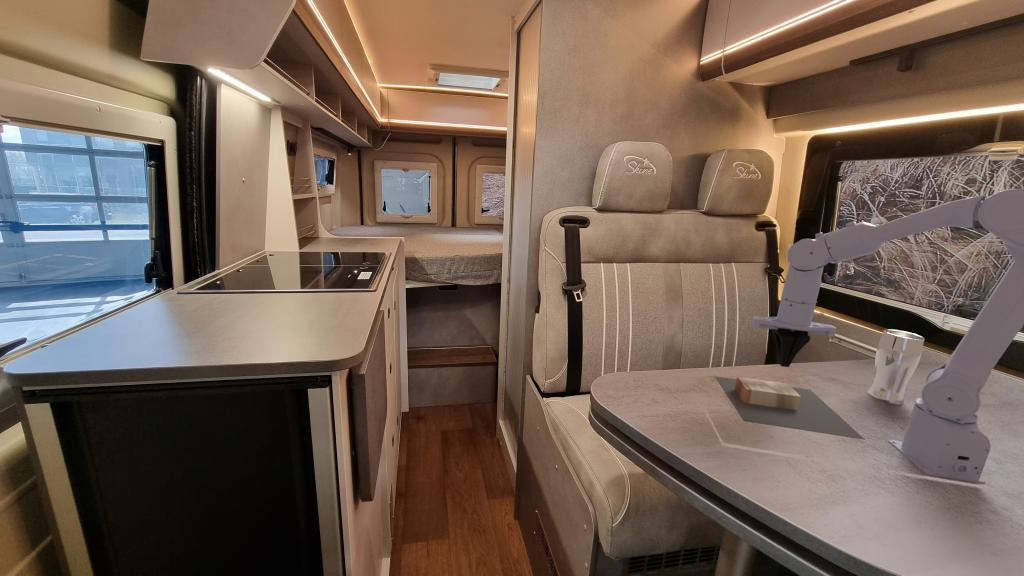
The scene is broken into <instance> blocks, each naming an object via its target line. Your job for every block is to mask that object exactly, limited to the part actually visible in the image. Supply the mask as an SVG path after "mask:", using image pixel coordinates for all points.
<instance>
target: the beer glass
mask: <svg viewBox="0 0 1024 576" xmlns="http://www.w3.org/2000/svg"><path fill="white" fill-rule="evenodd" d="M924 342H925V337H923V336H921V335H918V334H916V333H912V332H909V331H904V330H898V329H890V328H889V329H888V328H887V329H883V332H882V334H881V337H880V339H879V341H878V344H877V345H878V346H877V347H876V352H875V359H874V361H875V363H874V377H873V380H872V382H871V383H872V384H871V385H870V387H869V388H868V390H867V393H868V394H869V395H870V396H871V397H873V398H875V399H878V400H880V401H882V402H884V403H885V404H890V405H894V406H895V405H897V406H900V405H903V404H904V402H905V399H904V398H905V389H906V387H907V385H908V383H909V381H910V379H911V378H912V376H913V374H914V373H915V370H916V369H917V367H918V365H919V362H920V360H921V357H922V354H923V353H922V352H923V350H924V349H923V348H924Z"/></svg>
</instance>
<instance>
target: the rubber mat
mask: <svg viewBox="0 0 1024 576" xmlns="http://www.w3.org/2000/svg"><path fill="white" fill-rule="evenodd" d="M715 379H716V381H717V382H718V384H719V385H720V386H721V388H722V390H723V391H724V393H725V394H726V396H727V397H728V399H729V400H730V402H731V404H732V405H733V406H734V408H735V410H736V411H737V412H738V415H740V417H741V418H742V420H743V421H744V422H748V423H755V424H760V425H761V424H762V425H767V426H768V425H769V426H774V427H780V428H788V429H794V430H801V431H805V432H806V431H807V432H808V431H809V432H813V433H821V434H827V435H833V436H840V437H847V438H853V439H860V440H865V438H864V437H863V435H861V434H860V433H859V432H858V431H857V430H855V429H854V428H853V427H852V426H851V425H850V424H849V423H847V421H845V420H844V419H843V418H842V417H841V416H840V415H839V414H838V413H837V412H835V410H834V409H832V408H831V407H830V405H828V404H827V403H826V402H824V400H822V399H821V398H820V397H819V396H818V395H817V394H816V393H815V392H814V391H812V389H811V388H810V389H808V388H801V387H795V386H791V387H792V388H793V389H794V390H795V391H796V392H797V393H798V394H799V395H800V396H801V398H800V402H799V406H798V410H792V409H785V408H778V407H771V406H764V405H757V404H751V403H744V402H743V401H742V400H741V398H740V397H739V395H738V394H737V392H736V391H735V390H734V389H735V384H736V379H737V378H728V377H721V376H715Z"/></svg>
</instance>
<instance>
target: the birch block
mask: <svg viewBox="0 0 1024 576" xmlns="http://www.w3.org/2000/svg"><path fill="white" fill-rule="evenodd" d="M735 379H736V384H735V389H734V390H735V391H736V392H737V394H738V395H739V397H740V398H741V400H742V401H743V402H744V403H751V404H757V405H764V406H771V407H778V408H785V409H792V410H798V406H799V402H800V398H801V396H800V395H799V394H798V393H797V392H796V391H795V390H794V389H793V388H792V387H793V386H791V385H789V383H786V382H785V383H784V382H778V381H772V380H771V381H770V380H764V379H756V378H750V377H741V376H737V377H736V378H735Z"/></svg>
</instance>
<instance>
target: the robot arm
mask: <svg viewBox="0 0 1024 576" xmlns="http://www.w3.org/2000/svg"><path fill="white" fill-rule="evenodd" d="M974 221H977V222H979V224H980V225H981V226H982V227H983V228H984V229H985V230H987V231H988V232H990V233H991V234H993V236H996V238H998V239H1000V240H1001V241H1002V243H1003V245H1004V247H1005V248H1006V249H1007V251H1008V252H1009V254H1010V255H1011V257H1012V259H1013V260H1012V262H1011V264H1010V265H1009V267H1008V268H1007V270H1006V271H1005V273H1004V274H1003V276H1002V278H1001V279H1000V280H999V282H998V283H997V285H996V286H995V288H994V290H993V291H992V292H991V294H990V296H989V297H988V299H987V300H986V302H985V303H984V305H983V306H982V308H981V309H980V311H979V313H978V314H977V316H976V317H975V318H974V320H973V322H972V323H971V325H970V326H969V328H968V329H967V331H966V333H965V334H964V335H963V337H962V339H961V340H960V341H959V343H958V344H957V346H956V347H955V349H954V351H953V352H952V353H951V354H950V356H949V357H948V358H947V360H946V361H945V363H944V364H942V365H941V366H938V367H937V368H934V369H933V370H931V371H930V372H929V373H928V375H927V377H926V381H925V382H926V384H925V385H924V386H923V387H922V391H921V397H918V398H916V399H915V401H914V405H913V407H912V411H911V413H910V417H909V421H908V423H907V426H906V430H905V433H904V436H903V439H902V440H896V439H888V440H887V442H888V443H890V445H891V446H893V447H894V448H895V449H896V450H898V451H899V452H900V453H901V454H902V455H903V456H904V457H905V458H907V459H908V460H910V462H912V463H913V464H914V465H915V466H916V467H917V468H919V469H920V470H921V471H922V472H923V473H925V474H927V475H930V476H931V475H932V476H936V477H943V478H949V479H955V480H962V481H967V482H973V483H979V484H980V483H981V484H985V483H986V480H985V479H983V478H982V477H981V476H982V473H983V470H984V468H985V464H986V462H987V459H988V457H989V454H990V452H991V442H990V439H989V438H988V436H987V435H986V434H985V433H983V432H982V431H981V429H980V428H979V426H978V420H979V416H978V414H977V412H978V411H979V410H980V407H981V392H982V389H983V388H984V386H985V385H986V383H987V382H988V379H989V377H990V376H991V372H992V371H993V369H994V368H995V366H996V365H997V363H998V362H999V360H1000V359H1001V358H1002V356H1003V354H1004V353H1005V352H1006V350H1007V349H1008V348H1009V346H1010V344H1011V343H1012V341H1013V340H1014V339H1015V337H1016V336H1017V335H1018V334H1019V332H1020V330H1021V329H1022V327H1024V188H1010V189H1004V190H1001V191H998V192H995V193H993V194H992V195H990V196H988V197H987V195H986V194H983V195H977V196H972V197H968V198H962V199H958V200H957V199H956V200H955V201H954V200H953V201H950V202H945V203H943V204H939V205H936V206H934V207H930V208H928V209H925V210H921V211H918V212H915V213H912V214H909V215H906V216H903V217H899V218H896V219H894V220H890V221H887V222H884V223H882V224H881V223H880V224H879V225H878V224H877V225H874V224H872V223H869V222H866V221H862V222H858V223H857V222H856V221H851V222H848V223H845V226H846V227H843V228H840V229H836V230H833V231H830V232H827V233H823V232H819V233H816V234H815V238H814V239H813V238H812V239H811V238H803V239H800V240H798V241H797V242H795V243H793V244H792V245H791V246H789V249H788V250H787V253H786V257H787V260H788V262H789V264H788V268H787V273H786V275H785V279H784V283H783V289H782V291H781V296H780V297H781V298H780V302H779V306H778V311H777V315H776V316H755V315H752V316H751V320H750V326H751V327H752V328H753V329H760V328H761V329H768V330H771V332H772V334H773V336H774V337H773V338H774V340H775V344H776V349H777V351H776V352H777V364H779V365H780V366H781V367H784V368H790V366H791V364H792V362H793V360H794V359H795V357H796V356H797V354H798V353H799V352H800V351H801V350H802V349H803V348H804V347H805V346H806V345H807V344H808V343H809V342H810V341H811V336H810V335H819V336H820V335H821V336H827V337H828V338H829V337H830V338H835V336H836V331H837V327H836V326H833V325H831V324H825V323H821V322H814V321H812V320H813V316H814V313H815V309H816V305H817V301H818V300H817V299H818V298H819V297H818V296H819V294H820V288H821V284H822V275H823V273H824V272H823V271H824V267H825V266H826V265H828V264H829V263H830V264H837V263H838V264H839V263H840V262H841V263H842V262H845V261H849V260H853V259H857V258H860V257H863V256H864V257H865V256H868V255H871V254H875V253H877V252H878V250H879V249H880V248H881V246H882V245H883V244H884V243H886V242H890V241H893V240H898V239H903V238H905V237H910V236H913V235H918V234H922V233H925V232H928V231H929V232H930V231H932V230H938V229H941V228H945V227H951V228H968V229H970V228H971V229H973V228H974V225H975V222H974ZM809 334H810V335H809Z"/></svg>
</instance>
